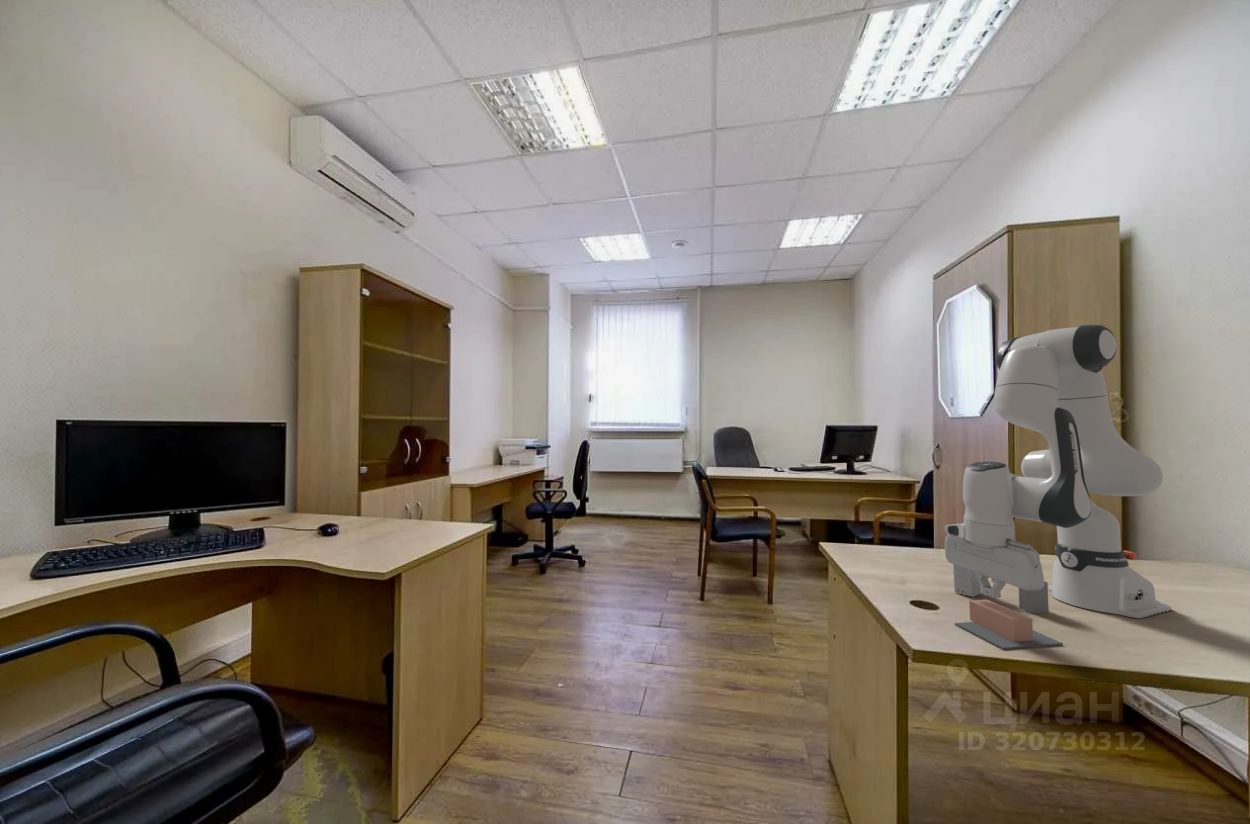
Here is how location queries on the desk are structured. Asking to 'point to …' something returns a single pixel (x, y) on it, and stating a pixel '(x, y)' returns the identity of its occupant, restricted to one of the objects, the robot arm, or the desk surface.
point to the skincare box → (966, 581)
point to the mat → (1004, 642)
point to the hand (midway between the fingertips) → (991, 595)
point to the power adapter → (1034, 600)
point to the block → (1001, 620)
